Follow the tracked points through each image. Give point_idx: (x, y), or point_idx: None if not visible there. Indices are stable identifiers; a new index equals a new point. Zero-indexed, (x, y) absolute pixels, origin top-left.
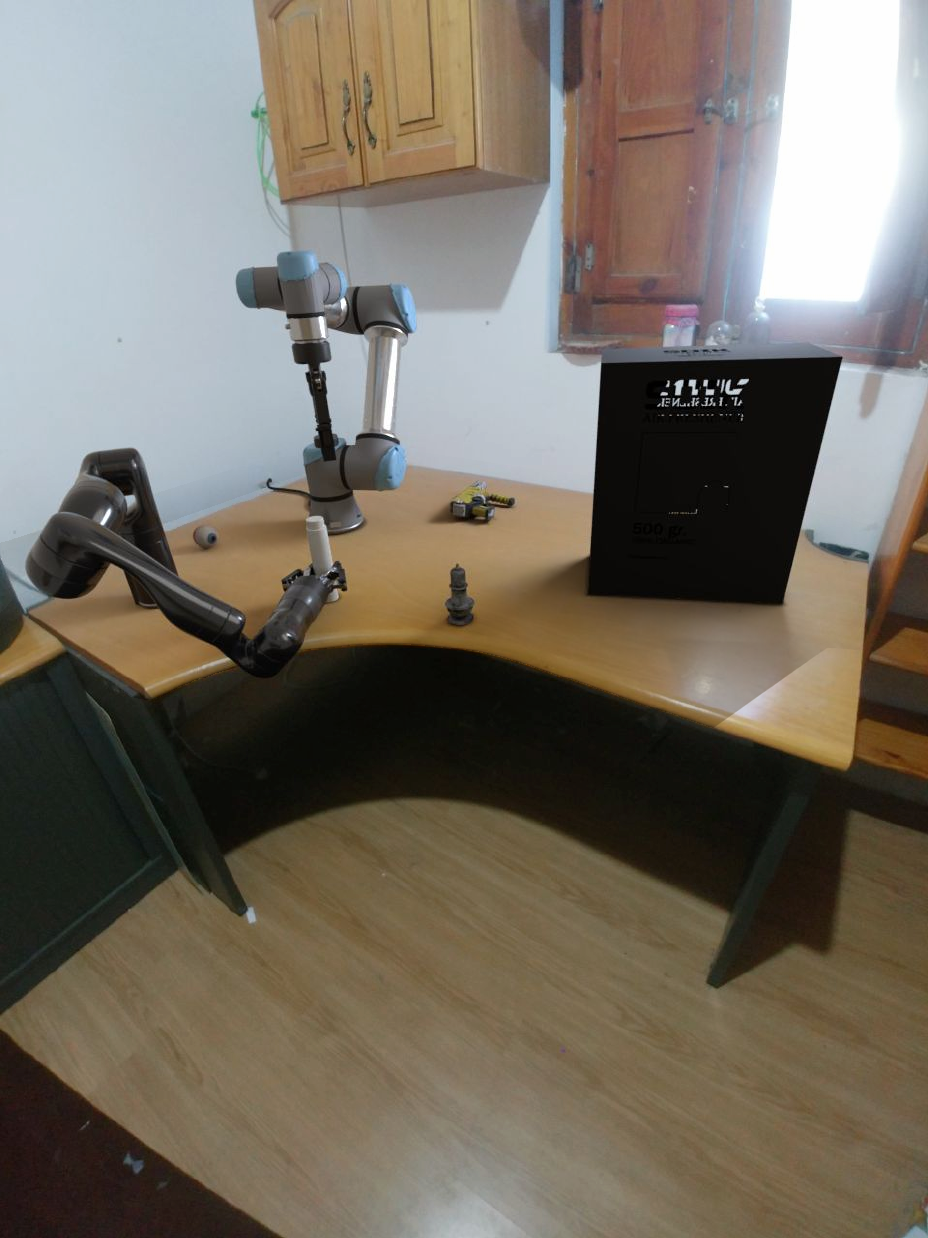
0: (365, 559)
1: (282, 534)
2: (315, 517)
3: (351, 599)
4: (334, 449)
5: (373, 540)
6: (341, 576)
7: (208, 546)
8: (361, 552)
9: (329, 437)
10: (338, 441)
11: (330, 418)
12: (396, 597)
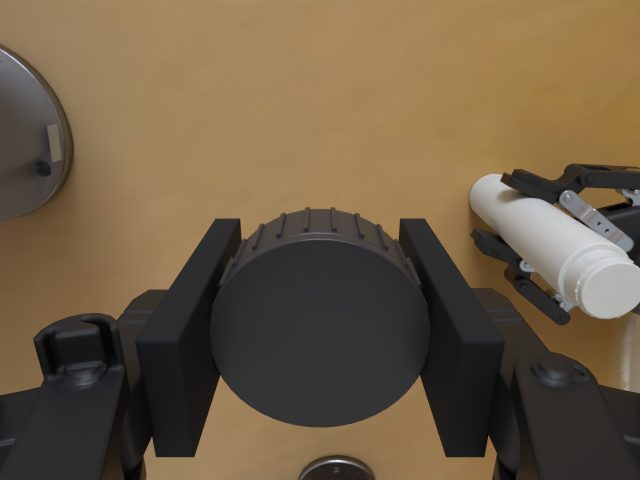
0: (293, 74)
1: (37, 285)
2: (602, 287)
3: (524, 144)
4: (442, 249)
5: (149, 26)
6: (633, 183)
7: None
8: (236, 79)
9: (532, 334)
10: (335, 215)
11: (43, 341)
12: (577, 25)
